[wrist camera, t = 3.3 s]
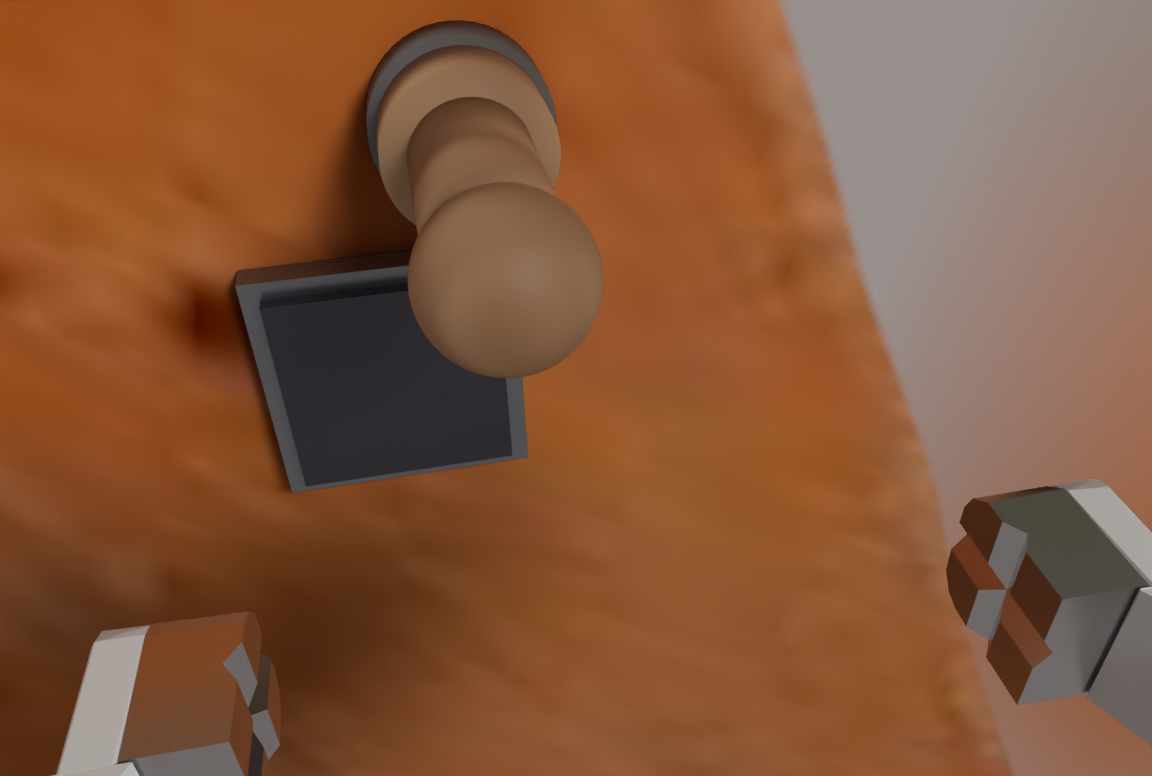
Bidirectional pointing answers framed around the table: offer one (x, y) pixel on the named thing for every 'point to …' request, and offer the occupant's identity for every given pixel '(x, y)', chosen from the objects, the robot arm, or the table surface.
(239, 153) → the table surface
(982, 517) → the robot arm
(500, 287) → the stamp
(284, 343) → the ink pad
